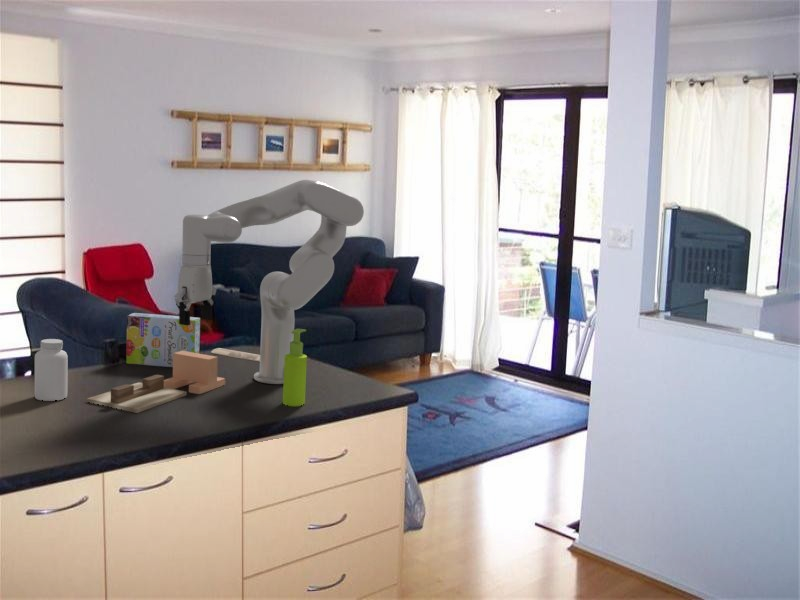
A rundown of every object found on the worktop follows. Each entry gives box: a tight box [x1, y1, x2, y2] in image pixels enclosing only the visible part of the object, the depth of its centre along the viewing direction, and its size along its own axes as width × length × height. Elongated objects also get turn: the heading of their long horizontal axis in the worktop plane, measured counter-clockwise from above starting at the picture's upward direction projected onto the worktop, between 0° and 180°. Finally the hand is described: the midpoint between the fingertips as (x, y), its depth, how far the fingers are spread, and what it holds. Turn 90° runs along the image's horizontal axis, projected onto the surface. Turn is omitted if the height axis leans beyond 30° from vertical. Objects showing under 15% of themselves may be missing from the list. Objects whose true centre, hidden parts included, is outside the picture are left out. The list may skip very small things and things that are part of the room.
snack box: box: [125, 312, 201, 368], centre depth 277 cm, size 21×6×15 cm, turn 84°
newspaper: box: [210, 347, 260, 363], centre depth 294 cm, size 24×7×2 cm, turn 66°
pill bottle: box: [34, 338, 69, 402], centre depth 236 cm, size 8×8×15 cm
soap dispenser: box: [282, 328, 308, 407], centre depth 245 cm, size 6×7×20 cm
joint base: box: [86, 374, 188, 414], centre depth 241 cm, size 16×20×4 cm
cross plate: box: [164, 351, 226, 395], centre depth 256 cm, size 12×12×9 cm
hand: (195, 321), depth 254 cm, fingers open, 9 cm apart
